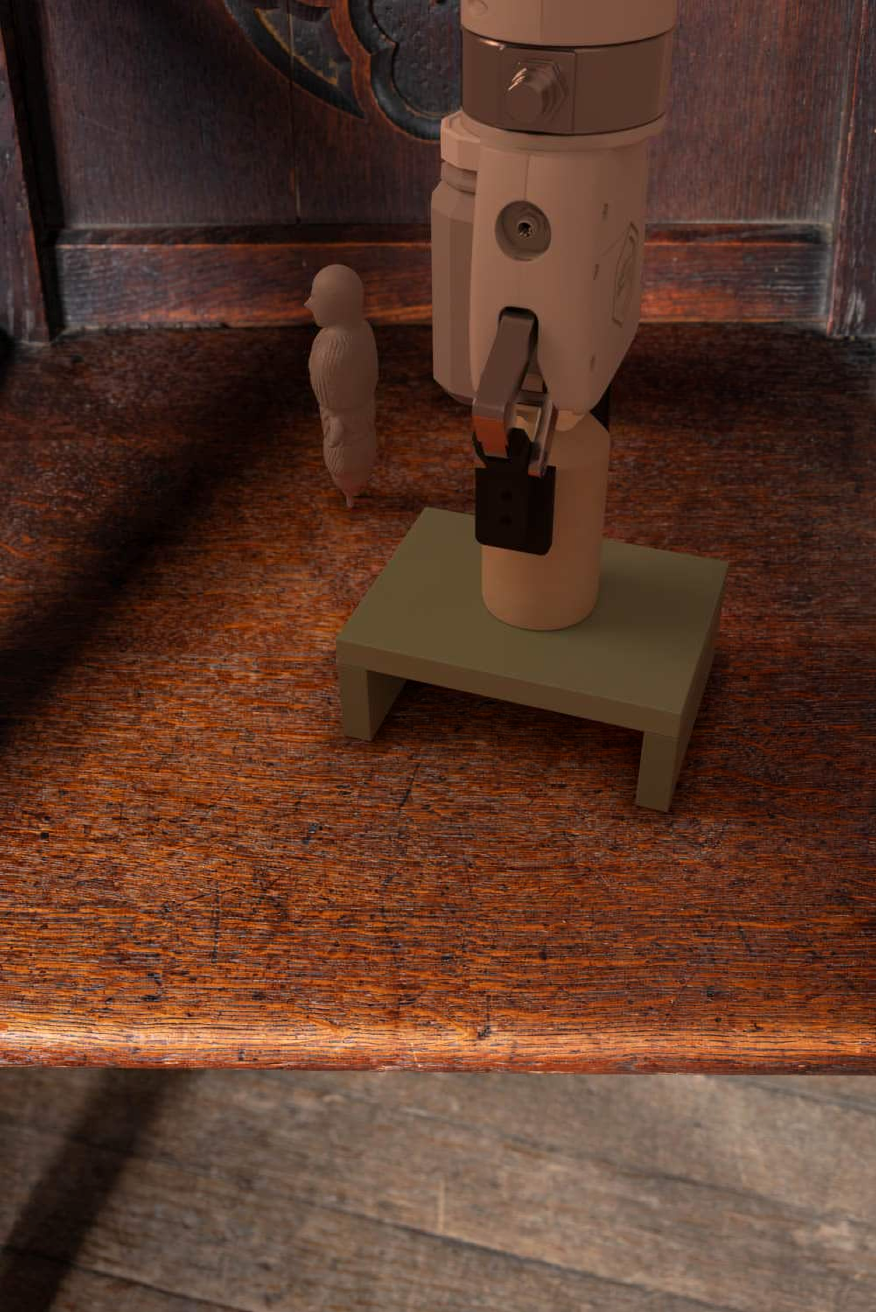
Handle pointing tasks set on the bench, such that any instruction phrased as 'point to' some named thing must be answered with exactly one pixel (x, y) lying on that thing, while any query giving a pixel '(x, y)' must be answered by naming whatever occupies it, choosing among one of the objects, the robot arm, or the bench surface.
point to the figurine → (344, 377)
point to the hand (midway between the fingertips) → (545, 488)
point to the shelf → (540, 642)
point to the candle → (557, 535)
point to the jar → (455, 261)
